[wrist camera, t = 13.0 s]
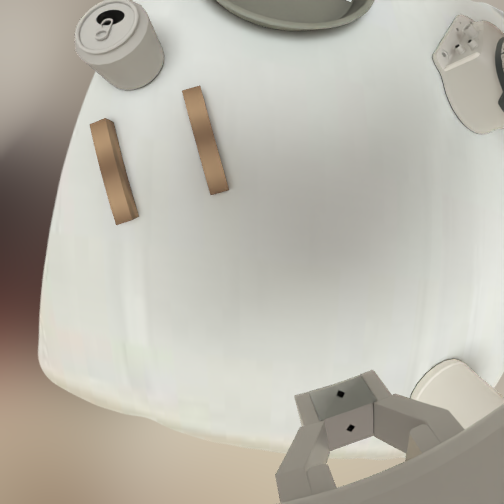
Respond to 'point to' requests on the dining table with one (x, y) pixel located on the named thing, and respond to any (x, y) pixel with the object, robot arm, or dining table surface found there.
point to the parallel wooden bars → (115, 168)
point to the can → (119, 43)
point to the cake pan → (298, 12)
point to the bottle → (458, 392)
